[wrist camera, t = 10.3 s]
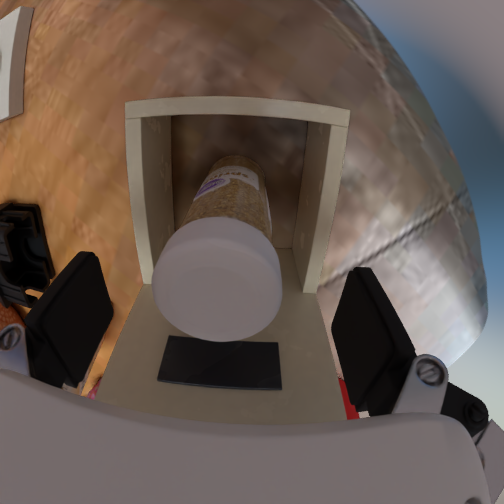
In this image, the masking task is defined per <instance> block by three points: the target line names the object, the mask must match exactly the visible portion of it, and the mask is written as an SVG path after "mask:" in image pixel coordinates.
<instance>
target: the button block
mask: <svg viewBox="0 0 504 504" xmlns="http://www.w3.org/2000/svg"><path fill="white" fill-rule="evenodd" d="M33 10H34V8H29V7H24V6H20V7H19V8H17V9H16V10H14V11H13V12H11V13H10V14H8V15H7V16H6V17H4V18H3V19H1V20H0V122H2V121H5V120H7V119H9V118H12V117H14V116H17V115H19V114H22V113H23V82H24V67H25V57H26V48H27V41H28V35H29V29H30V24H31V19H32V14H33Z"/></svg>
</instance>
